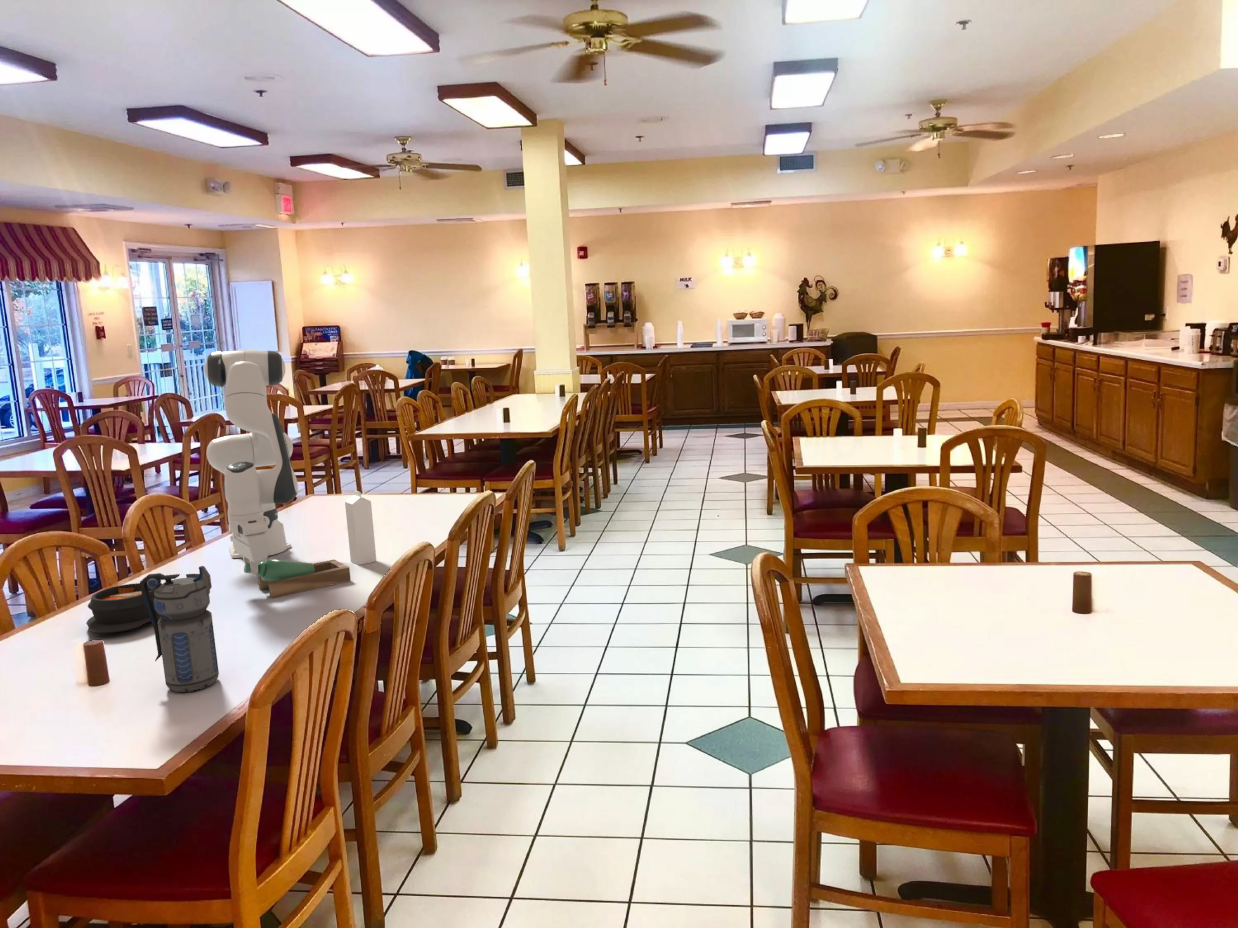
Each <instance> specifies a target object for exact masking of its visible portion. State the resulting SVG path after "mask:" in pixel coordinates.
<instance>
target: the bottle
mask: <svg viewBox="0 0 1238 928" xmlns="http://www.w3.org/2000/svg"><path fill="white" fill-rule="evenodd" d="M313 564H314V563H313V562H303V561H294V560H293V561H292V560H283V559H282V560H281V559H273V558H267V560H266V561H263V562H259V564H258V573H257V574H255V575H256V577H258V576H259V577H261V580H262V581H277V580H282V579H287V578H292V577H296V576H301V575H306V574H311V573H314V572H315V569H314V565H313ZM243 573H245V574H251V573H250V563H246V564H245V563H244V567H243Z"/></svg>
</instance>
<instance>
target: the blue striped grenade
mask: <svg viewBox="0 0 1238 928" xmlns="http://www.w3.org/2000/svg"><path fill="white" fill-rule="evenodd" d="M198 570H199V573H186V574H185V577H181V578H179V576H180V573H176V574H167V575H164V574H163V573H161V572H160V573H159V572H158V573H148V574H147V575H146V576H145V577H143V578H142V579H141V580H140V581H139V583H140V586H141V592H142V596H143V599H144V601H145V604H146V607H147V610H148V613H149V616H150V619H151V622H150V623H151V624H152V627H153V629H154V636H155V644H156V650H157V656H156V658H155V660H154V662H157V661H158V659H160V657H161V659H162V666H163V674H164V680H165V685H166V686H167V688H168V689H169V691H172V692H177V693H178V692H179V693H187V692H186V691H191V692H195V691H194V690H196V691H199V690H198V689H200V690H203V689H205V688H207V687H210V686H211V685H213V684H214V683H216V682H217V680H218V677H219V675H220V672H219V671H220V670H219V664H218V657H217V647H216V641H215V640H216V639H215V632H214V631H215V630H214V625H213V624H214V622H213V615H212V612H211V611H209V610H208V607H209V606H210V603H211V599H210V598H211V597H210V594H211V589H212V578H211V574H210V573H209V571H208V570H207V569H206V567H205V566H204V565H201V566H199V567H198ZM162 581H164V582H163V583H162ZM148 588H149V589H150V590H151V591H152V592H153V593H154V607H153V604H152V600H151V597H150V594H149V591H148ZM154 608H155V610H156V612H157V613H158V614H159V615H160V616H161V617H159V618H157V616H156V613H155V610H154ZM202 688H203V689H202Z"/></svg>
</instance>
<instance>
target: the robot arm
mask: <svg viewBox="0 0 1238 928" xmlns="http://www.w3.org/2000/svg"><path fill="white" fill-rule="evenodd" d="M282 357H283V356H282V355H281V353H279V352H277V351H272V350H265V351H264V350H259V349H258V350H256V349H244V350H242V349H241V350H226V351H222V350H217V351H213V352H210V353H209V355H207V357H206V358H207V359H206V360H205V362H204V363H205V364H204V374H205V377H206V379H207V380H208V383H210V384H211V385H212V386H215V387H218V388H224V387H225V388H224V406H225V413H226V417H227V419H228V420H229V422H230V423H231V424H233V425H234V426H235V427H237V428H239V429H241V430H242V431H246V432H248V433H241V434H233V435H225V436H224V435H223V436H221V437H217V438H214V439H212V440H210V441H209V443H208V445H207V447H206V458H207V459H206V460H207V461H208V463H209V465H210V466H211V467H212V468H214V469H215V470H217V471H218V472H220V473H222V475H224V482H223V493H224V499H225V500H226V503H227V506H228V509H227V519H228V529H229V532H231V533H232V534H229V539H230V542H231V543H232V544H231V545H229V546H228V549H229V550H228V551H229V553H230V556H231V557H230V558H232V559H238V558H241V559H243V562H244V565H245V564H246V563H250V573H249V574H252V575H256V574H257V573H258V564H259V562H263V561H266V560H267V559H268V556H273V555H277V554H280V553H282V552H285V551H286V550H287V549H290V548H292V543H290V542H287V538H286V534H285V533H286V532H285V527H284V524H283V522H281V521H280V520H279V516H278V513H279V511H278V508H277V507H276V505H277V504H279V505H280V504H281V505H283V504H287V505H288V504H289V503H290V502H292V501H293V500H294V499H295V498H297V497H296V496H298V492H299V484H298V483H299V482H298V479H297V476H296V474H295V471H294V469H293V465H292V460H291V457H292V454H293V451H294V446H293V445H294V444H293V441H292V439H291V438H290V437H289V435H288V434H287V433H286V432H284V429H283V425H282V422H281V420H280V417H279V416H278V415H277V414H276V413H273V412H272V411H271V409H270V408H269V405H268V398H267V397H268V396H267V386H269V387H273V386H277V385H279V384H280V383H282V382H283V380H284V377H285V374H286V364H285V361H284V359H283V358H282ZM268 466H274V467H273V468H267V469H266V468H265V469H264V468H263V469H256V468H259V467H268Z"/></svg>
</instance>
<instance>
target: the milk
mask: <svg viewBox="0 0 1238 928" xmlns="http://www.w3.org/2000/svg"><path fill="white" fill-rule="evenodd" d="M352 492H353V495H351V496H350V497H349V498H347V499H345V501H344V505H345V514H346V515H345V516H346V518H345V519H346V524H347V525H346V528H347V536H348V537H347V539H348V545H349V546H348V547H349V548H348V549H349V556H350V562H351V563H353V564H355V565H358V566H360V565H364V564H370V563H374V562H377V553H376V552H377V551H376V542H375V540H376V539H375V530H374V519H373V511H372V510H373V509H372V501H371V500H369V499H368V498H367V499H366V498H364V497H362V493H361V491H358V490H355V489H353V491H352Z"/></svg>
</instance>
